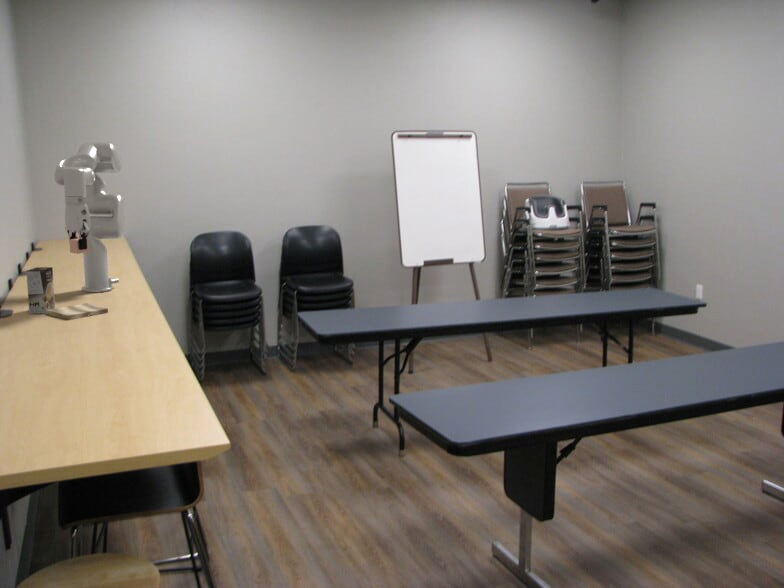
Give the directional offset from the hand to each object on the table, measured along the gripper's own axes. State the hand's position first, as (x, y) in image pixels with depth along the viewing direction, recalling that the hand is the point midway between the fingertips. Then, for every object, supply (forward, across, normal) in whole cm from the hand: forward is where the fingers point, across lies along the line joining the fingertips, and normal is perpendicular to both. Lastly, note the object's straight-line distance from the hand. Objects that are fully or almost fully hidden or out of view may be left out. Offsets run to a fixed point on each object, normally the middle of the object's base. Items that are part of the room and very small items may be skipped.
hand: (78, 248), depth 282 cm
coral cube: (+2, 0, 0) cm, 2 cm away
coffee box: (+23, +3, +14) cm, 27 cm away
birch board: (+23, -10, +8) cm, 26 cm away
